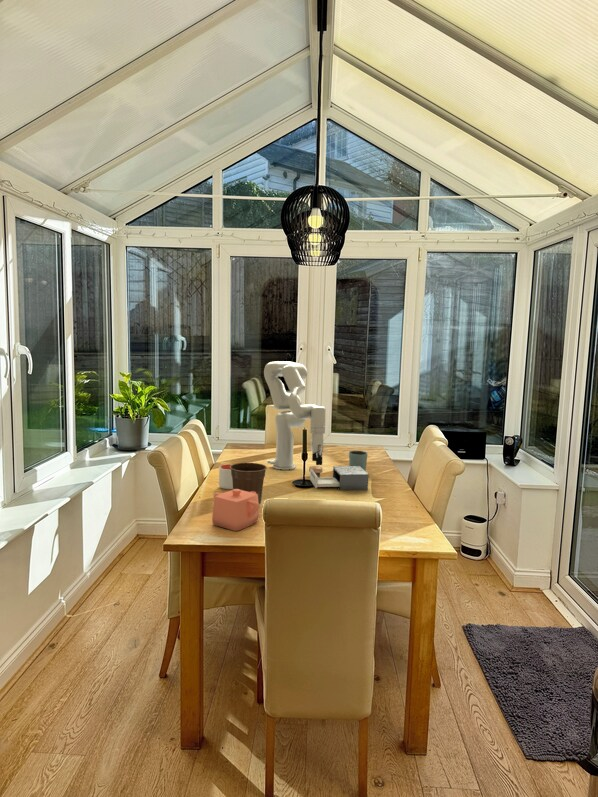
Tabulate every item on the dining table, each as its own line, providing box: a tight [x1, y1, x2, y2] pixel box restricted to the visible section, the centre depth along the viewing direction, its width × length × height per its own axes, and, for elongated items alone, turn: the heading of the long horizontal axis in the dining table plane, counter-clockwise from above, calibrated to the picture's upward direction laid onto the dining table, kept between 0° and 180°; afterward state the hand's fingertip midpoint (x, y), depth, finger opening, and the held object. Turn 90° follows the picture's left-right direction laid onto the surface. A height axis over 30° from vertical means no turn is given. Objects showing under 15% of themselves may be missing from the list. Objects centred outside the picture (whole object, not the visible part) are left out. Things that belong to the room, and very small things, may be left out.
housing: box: [332, 465, 370, 491], centre depth 273 cm, size 14×16×8 cm
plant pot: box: [230, 462, 268, 505], centre depth 241 cm, size 16×16×16 cm
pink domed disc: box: [308, 465, 324, 474], centre depth 283 cm, size 7×7×2 cm
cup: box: [218, 464, 233, 490], centre depth 263 cm, size 10×10×10 cm
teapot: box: [211, 489, 260, 532], centre depth 216 cm, size 20×22×14 cm
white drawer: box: [309, 469, 340, 489], centre depth 271 cm, size 13×15×6 cm
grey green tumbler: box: [348, 450, 368, 472], centre depth 296 cm, size 10×10×12 cm
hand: (317, 462), depth 282 cm, fingers open, 9 cm apart
